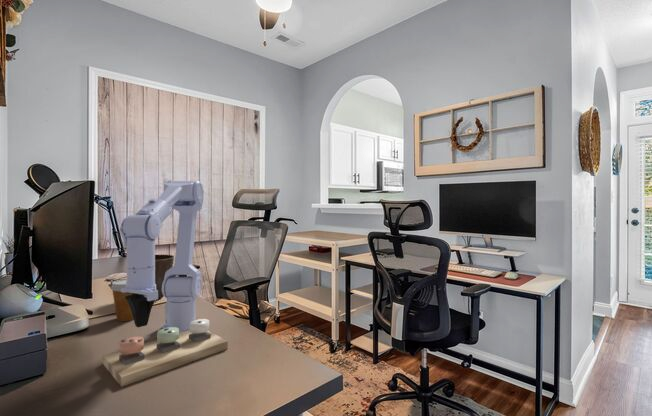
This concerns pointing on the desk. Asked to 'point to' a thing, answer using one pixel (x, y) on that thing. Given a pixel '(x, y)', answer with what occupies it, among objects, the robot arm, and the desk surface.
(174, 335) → the sage button
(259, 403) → the desk surface
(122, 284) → the disposable coffee cup
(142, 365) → the button panel
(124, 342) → the terracotta button
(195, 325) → the off-white button
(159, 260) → the plant pot
